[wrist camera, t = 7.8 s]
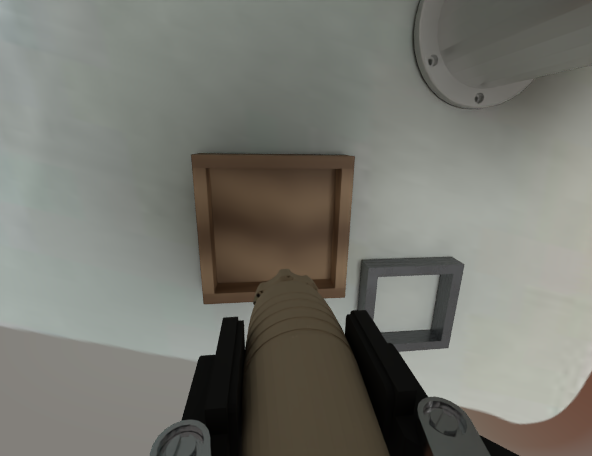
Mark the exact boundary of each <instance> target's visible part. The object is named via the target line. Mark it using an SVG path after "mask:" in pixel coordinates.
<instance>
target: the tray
mask: <svg viewBox="0 0 592 456" xmlns="http://www.w3.org/2000/svg"><path fill="white" fill-rule="evenodd" d="M191 159H192V171H193V183H194V195H195V207H196V219H197V231H198V243H199V255H200V267H201V279H202V291H203V302H204V304H219V303H240V302H253V301H254V296H255V293H256V290H257V288H258V286H259V284H260V283H262V282H267V281H269V280H271V279H272V278H273V277H275V276H276V275H277V274H278V272H279V270H281V269H290V271H291V272H292V273H294V274H296V275H300V276H304V275H307V276H309V277H310V278H311V279H312V280H313V281H314V283H315V284H316V286H317V287H318V293H319V294H320V295H321V296H322V297H323V298H343V297H345V289H346V274H347V260H348V246H349V232H350V217H351V203H352V189H353V175H354V160H355V156H349V155H315V154H223V153H198V154H192V155H191Z"/></svg>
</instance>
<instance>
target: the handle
mask: <svg viewBox="0 0 592 456" xmlns="http://www.w3.org/2000/svg"><path fill="white" fill-rule="evenodd" d="M253 304H254V305H255V306H254V308H253V311H252V315H251V318H250V323H249V328H248V334H247V341H246V347H245V356H244V368H243V382H242V456H390V455H389V452H388V449H387V446H386V443H385V440H384V438H383V435H382V432H381V429H380V426H379V423H378V420H377V418H376V415H375V412H374V409H373V406H372V403H371V401H370V398H369V395H368V392H367V389H366V386H365V384H364V381H363V378H362V375H361V372H360V369H359V366H358V364H357V361H356V359H355V357H354V354H353V352H352V350H351V347H350V345H349V343H348V341H347V339H346V336H345V334H344V332H343V330H342V328H341V326H340V324H339V323H338V321H337V319H336V317H335V315H334V314H333V312H332V310H331V309H330V307H329V306H328V304H327V303H326V301H325V300H324V299H323V297H322V296H321V295H320V294H319V293H318V287H317V286H316V284H315V283H314V281H313V280H312V279H311V278H310V277H309V276H307V275H304V276H300V275H296V274H294V273H292V272H291V271H290V269H281V270H279V272H278V274H277V275H276V276H275V277H273V278H272V279H271V280H269V281H267V282H262V283H260V284H259V286H258V288H257V290H256V293H255V296H254V301H253Z"/></svg>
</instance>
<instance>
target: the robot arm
mask: <svg viewBox="0 0 592 456" xmlns="http://www.w3.org/2000/svg"><path fill="white" fill-rule="evenodd" d="M414 46H415V54H416V58H417V63H418V66H419V69H420V71H421V73H422V76H423V78H424V80H425V81H426V83H427V84H428V86H429V87H430V89H431V90H432V91H433V92H434V93H435V94H436V95H437V96H438V97H439V98H441V99H442V100H444V101H446V102H447V103H449V104H451V105H454V106H457V107H460V108H467V109H478V108H487V107H491V106H495V105H499V104H501V103H503V102H506V101H508V100H510V99H512V98H513V97H515V96H516V95H517V94H519V93H520V92H522V91H523V90H524V89H525V88H526V87H527V86H528V85H529V84H530V83H531V82H532V81H533V80H534V79H535V78H537V77H542V76H546V75H550V74H555V73H559V72H563V71H568V70H572V69H576V68H581V67H585V66H589V65H592V0H420V3H419V7H418V11H417V14H416V20H415V29H414ZM428 61H429V63H430V64H428ZM345 336H346V339H347V341H348V343H349V345H350V347H351V350H352V352H353V354H354V357H355V359H356V361H357V364H358V366H359V369H360V372H361V375H362V378H363V381H364V384H365V386H366V389H367V392H368V395H369V398H370V401H371V403H372V406H373V409H374V412H375V415H376V418H377V420H378V423H379V426H380V429H381V432H382V435H383V438H384V440H385V443H386V446H387V449H388V452H389V455H390V456H519V455H517V454H515V453H513V452H511V451H509V450H507V449H505V448H503V447H502V446H500V445H498V444H496V443H494V442H492V441H490V440H488V439H486V438H484V437H482V436H480V435H479V434H478V432H477V430H476V429H475V427H474V425H473V423H472V422H471V420H470V418H469V417H468V416H467V414H466V413H465V412H464V411H463V410H462V409H461V408H460V407H459V406H457V405H456V404H454V403H452V402H451V401H448V400H446V399H443V398H439V397H428V396H427V395H426V393H425V392H424V390H423V389H422V387H421V386H420V384H419V382H418V381H417V379H416V378H415V376H414V375H413V373H412V372H411V370H410V369H409V367H408V366H407V364H406V363H405V361H404V360H403V358H402V357H401V355H400V354H399V352H398V351H397V349H396V348H395V346H394V345H393V344H392V343H387V342H386V340H385V339H384V337H383V336H382V334H381V332H380V331H379V329H378V328H377V326H376V325H375V323H374V321H373V320H372V318H371V317H370V315H369V313H368V312H367V311H366V310H353V311H351V314H348V315H347V316H346V326H345ZM244 356H245V339H244V320H242V321H238V317H226V318H223V321H222V326H221V331H220V336H219V340H218V345H217V350H216V355H205V356H200V357H199V360H198V363H197V367H196V370H195V374H194V377H193V381H192V385H191V388H190V392H189V396H188V399H187V403H186V406H185V410H184V413H183V417H182V421H180V422H177V423H174V424H173V425H171V426H170V427H168V428H166V429H165V430H164V431H163V432H162V433H161V434H160V435H159V436H158V437H157V439H156V440H155V442H154V443H153V445H152V449H151V452H150V456H242V382H243V368H244Z"/></svg>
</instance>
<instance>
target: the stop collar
mask: <svg viewBox="0 0 592 456" xmlns="http://www.w3.org/2000/svg"><path fill="white" fill-rule="evenodd" d="M463 269H464V264H463V263H461V262H460V261H458V260H456V259H455V258H453V257H434V258H404V259H373V260H362V264H361V276H360V288H359V300H358V310H366V311H367V312H368V313H369V315H370V317H371V318H372V320H373V318H374V308H375V299H376V289H377V279H378V277H388V276H412V275H437V274H440V279H439V285H438V291H437V297H436V303H435V309H434V315H433V321H432V327H431V330H418V331H403V332H387V333H381V334H382V336H383V337H384V339H385V340H386V342H387V343H392V344H393V345H394V346H395V348H396V349H397V351H398V352H401V351H415V350H428V349H442V348H448V347H449V342H450V337H451V331H452V326H453V321H454V316H455V311H456V305H457V300H458V295H459V290H460V285H461V280H462V274H463Z"/></svg>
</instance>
